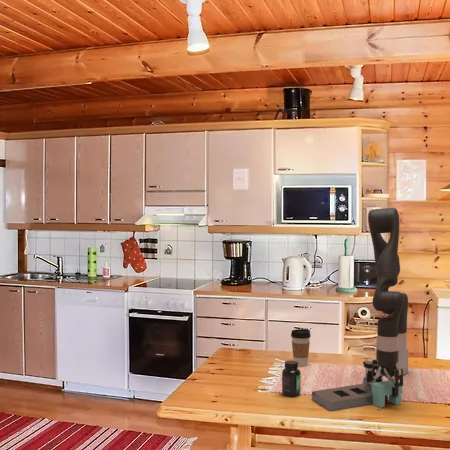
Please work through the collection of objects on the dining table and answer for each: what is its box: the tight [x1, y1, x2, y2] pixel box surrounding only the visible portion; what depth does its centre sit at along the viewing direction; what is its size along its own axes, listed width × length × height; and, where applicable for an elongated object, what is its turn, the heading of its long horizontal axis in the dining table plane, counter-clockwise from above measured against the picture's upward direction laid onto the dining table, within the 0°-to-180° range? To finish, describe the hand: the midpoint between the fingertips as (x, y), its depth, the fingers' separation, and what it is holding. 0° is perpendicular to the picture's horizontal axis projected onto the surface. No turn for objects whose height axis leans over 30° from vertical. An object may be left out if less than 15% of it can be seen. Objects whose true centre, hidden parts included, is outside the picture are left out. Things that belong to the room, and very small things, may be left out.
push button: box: [362, 358, 376, 385], centre depth 224 cm, size 7×5×10 cm
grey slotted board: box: [311, 383, 389, 412], centre depth 209 cm, size 24×12×3 cm, turn 113°
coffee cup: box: [290, 328, 311, 367], centre depth 252 cm, size 8×8×15 cm
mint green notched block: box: [372, 380, 403, 409], centre depth 205 cm, size 10×4×8 cm, turn 113°
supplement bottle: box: [281, 360, 302, 398], centre depth 215 cm, size 7×7×12 cm
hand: (386, 393), depth 205 cm, fingers open, 8 cm apart
